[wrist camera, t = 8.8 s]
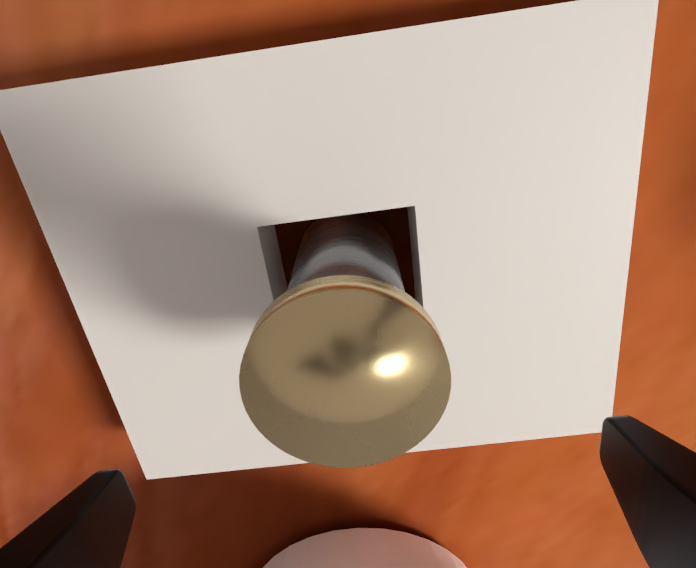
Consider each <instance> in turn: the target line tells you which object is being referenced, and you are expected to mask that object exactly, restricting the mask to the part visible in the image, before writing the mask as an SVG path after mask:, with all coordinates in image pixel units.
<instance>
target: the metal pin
mask: <svg viewBox="0 0 696 568" xmlns="http://www.w3.org/2000/svg"><path fill="white" fill-rule="evenodd" d="M239 389H240V394H241V399H242V402H243V405H244V408H245V410H246V412H247V414H248V416H249V418H250V420H251V421H252V423H253V424H254V425H255V427H256V428H257V429H258V431H259V432H260V433H261V434H262V435H263V436H264V437H265V438H266V439H267V440H268V441H270V442H271V443H272V444H273V445H275V446H276V447H278V448H279V449H281V450H282V451H284V452H285V453H287V454H289V455H291V456H294V457H296V458H298V459H301V460H303V461H306V462H309V463H313V464H317V465H321V466H328V467H339V468H352V467H363V466H369V465H374V464H378V463H382V462H385V461H387V460H390V459H393V458H395V457H397V456H399V455H401V454H403V453H405V452H407V451H409V450H410V449H412V448H413V447H415V446H416V445H417V444H419V443H420V442H421V441H422V440H423V439H425V438H426V437H427V435H428V434H429V433H430V432H431V431H432V430H433V429H434V428H435V426H436V425H437V423H438V422H439V421H440V419H441V417H442V415H443V413H444V411H445V409H446V406H447V403H448V400H449V396H450V390H451V371H450V364H449V361H448V358H447V354H446V351H445V348H444V346H443V343H442V340H441V337H440V334H439V331H438V329H437V327H436V325H435V323H434V321H433V320H432V318H431V317H430V315H429V314H428V312H427V311H426V310H425V309H424V308H423V307H422V306H421V305H420V304H419V303H418V302H417V301H416V300H415V299H414V298H412V297H411V296H410V295H409V294H407V293H405V290H404V286H403V282H402V278H401V274H400V270H399V266H398V262H397V258H396V254H395V251H394V247H393V243H392V240H391V238H390V236H389V234H388V232H387V231H386V229H385V228H384V227H383V226H382V225H381V224H380V223H379V222H378V221H377V220H376V219H374V218H373V217H371V216H369V215H367V214H365V213H357V214H350V215H342V216H335V217H327V218H320V219H317V220H316V221H314V222H313V223H312V224H311V225H310V226H309V228H308V229H307V230H306V232H305V233H304V235H303V237H302V239H301V242H300V246H299V249H298V253H297V256H296V260H295V264H294V267H293V271H292V275H291V278H290V282H289V286H288V289H287V292H285V293H283V294H282V295H280V296H279V297H278V298H277V299H276V300H274V301H273V302H272V303H271V304H270V305H269V306H268V307H267V308H266V310H265V311H264V312H263V313H262V315H261V316H260V318H259V319H258V321H257V322H256V324H255V326H254V328H253V331H252V333H251V335H250V338H249V341H248V344H247V346H246V349H245V352H244V355H243V358H242V362H241V365H240V373H239Z"/></svg>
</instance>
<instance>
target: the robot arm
mask: <svg viewBox="0 0 696 568" xmlns="http://www.w3.org/2000/svg"><path fill="white" fill-rule="evenodd" d="M600 459H601V463H602V466H603V468H604V470H605V473H606V475H607V477H608V479H609V482H610V484H611V486H612V488H613V491H614V493H615V495H616V498H617V500H618V502H619V504H620V507H621V509H622V511H623V513H624V516H625V518H626V520H627V522H628V525H629V527H630V529H631V531H632V534H633V536H634V538H635V540H636V542H637V544H638V547H639V549H640V551H641V552H642V554H643V556H644V558H645V560H646V562H647V564H648V565H649V567H650V568H696V453H695V452H693V451H692V450H690V449H688V448H686V447H685V446H683V445H681V444H679V443H678V442H676V441H674V440H672V439H671V438H669V437H667V436H665V435H663V434H662V433H660V432H658V431H656V430H655V429H653V428H651V427H649V426H648V425H646V424H644V423H642V422H640V421H639V420H637V419H635V418H633V417H631V416H628V415H623V416H613V417H607V418H605V419H604V421H603V424H602V433H601V443H600ZM135 509H136V503H135V498H134V496H133V494H132V491H131V489H130V487H129V485H128V482H127V480H126V478H125V476H124V474H123V472H122V471H121V470H119V469H112V470H102V471H98V472H96V473H95V474H93V475H92V476H91V477H89V478H88V479H87V480H86V481H84V482H83V483H82V484H81V485H79V486H78V487H77V488H76V489H74V490H73V491H72V492H71V493H69V494H68V495H67V496H66V497H64V498H63V499H62V500H61V501H59V502H58V503H57V504H56V505H54V506H53V507H52V508H51V509H49V510H48V511H47V512H46V513H44V514H43V515H42V516H41V517H39V518H38V519H37V520H36V521H34V522H33V523H32V524H31V525H29V526H28V527H27V528H25V529H24V530H23V531H22V532H20V533H19V534H18V535H17V536H15V537H14V538H13V539H12V540H10V541H9V542H8V543H7V544H5V545H4V546H3V547H2V548H0V568H121V564H122V560H123V556H124V553H125V549H126V545H127V541H128V537H129V534H130V530H131V526H132V522H133V519H134V515H135Z"/></svg>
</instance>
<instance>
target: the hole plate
mask: <svg viewBox="0 0 696 568" xmlns="http://www.w3.org/2000/svg"><path fill="white" fill-rule="evenodd" d="M657 9H658V0H577V1H571V2H564V3H558V4H551V5H545V6H538V7H532V8H526V9H519V10H513V11H506V12H500V13H493V14H487V15H481V16H474V17H468V18H461V19H455V20H448V21H442V22H435V23H429V24H423V25H416V26H410V27H403V28H397V29H390V30H384V31H378V32H371V33H365V34H358V35H352V36H345V37H339V38H333V39H326V40H320V41H313V42H307V43H300V44H294V45H288V46H281V47H275V48H268V49H262V50H255V51H249V52H243V53H236V54H230V55H223V56H217V57H210V58H204V59H197V60H191V61H185V62H178V63H172V64H165V65H159V66H152V67H146V68H140V69H133V70H127V71H120V72H114V73H107V74H101V75H95V76H88V77H82V78H75V79H69V80H62V81H56V82H50V83H43V84H37V85H30V86H24V87H17V88H11V89H5V90H0V131H1V133H2V136H3V138H4V140H5V143H6V145H7V147H8V150H9V152H10V155H11V157H12V159H13V162H14V164H15V167H16V169H17V171H18V174H19V176H20V179H21V181H22V183H23V186H24V188H25V190H26V193H27V195H28V198H29V200H30V202H31V205H32V207H33V210H34V212H35V214H36V217H37V219H38V221H39V224H40V226H41V229H42V231H43V233H44V236H45V238H46V241H47V243H48V245H49V248H50V250H51V252H52V255H53V257H54V260H55V262H56V264H57V267H58V269H59V272H60V274H61V276H62V279H63V281H64V283H65V286H66V288H67V291H68V293H69V295H70V298H71V300H72V303H73V305H74V307H75V310H76V312H77V315H78V317H79V319H80V322H81V324H82V326H83V329H84V331H85V334H86V336H87V338H88V341H89V343H90V346H91V348H92V350H93V353H94V355H95V357H96V360H97V362H98V365H99V367H100V369H101V372H102V374H103V377H104V379H105V381H106V384H107V386H108V388H109V391H110V393H111V396H112V398H113V400H114V403H115V405H116V408H117V410H118V412H119V415H120V417H121V419H122V422H123V424H124V427H125V429H126V431H127V434H128V436H129V439H130V441H131V443H132V446H133V448H134V451H135V453H136V455H137V458H138V460H139V462H140V465H141V467H142V470H143V472H144V474H145V477H146V479H147V480H148V479H158V478H167V477H177V476H187V475H196V474H206V473H215V472H225V471H234V470H244V469H254V468H263V467H273V466H282V465H292V464H301V463H309V462H306V461H303V460H301V459H298V458H296V457H294V456H291V455H289V454H287V453H285V452H284V451H282V450H281V449H279V448H278V447H276V446H275V445H273V444H272V443H271V442H270V441H268V440H267V439H266V438H265V437H264V436H263V435H262V434H261V433H260V432H259V431H258V429H257V428H256V427H255V425H254V424H253V423H252V421H251V420H250V418H249V416H248V414H247V412H246V410H245V408H244V405H243V402H242V399H241V394H240V389H239V373H240V365H241V362H242V358H243V355H244V352H245V349H246V346H247V344H248V341H249V338H250V335H251V333H252V331H253V328H254V326H255V324H256V322H257V321H258V319H259V318H260V316H261V315H262V313H263V312H264V311H265V310H266V308H267V307H268V306H269V305H270V304H271V303H272V302H273V301H274V300H276V299H277V298H278V297H279V296H280V295H282V294H283V293H285V292H287V289H288V288H287V283H286V278H285V273H284V268H283V264H282V259H281V254H280V249H279V245H278V240H277V235H276V230H275V224H282V223H290V222H297V221H305V220H312V219H320V218H327V217H335V216H342V215H350V214H357V213H365V212H372V211H379V210H387V209H394V208H402V207H407V211H408V222H409V233H410V244H411V256H412V267H413V278H414V289H415V300H416V301H417V302H418V303H419V304H420V305H421V306H422V307H423V308H424V309H425V310H426V311H427V312H428V314H429V315H430V317H431V318H432V320H433V321H434V323H435V325H436V327H437V329H438V331H439V334H440V337H441V340H442V343H443V346H444V348H445V351H446V354H447V358H448V361H449V364H450V371H451V390H450V396H449V400H448V403H447V406H446V409H445V411H444V413H443V415H442V417H441V419H440V421H439V422H438V423H437V425H436V426H435V428H434V429H433V430H432V431H431V432H430V433H429V434H428V435H427V437H426V438H425V439H423V440H422V441H421V442H420V443H419V444H417V445H416V446H415V447H413V448H412V449H410V450H409V451H407V452H416V451H426V450H435V449H445V448H455V447H464V446H474V445H483V444H493V443H502V442H512V441H522V440H531V439H541V438H550V437H560V436H569V435H579V434H589V433H598V432H602V424H603V421H604V419H605V418H607V417H612V411H613V402H614V393H615V384H616V375H617V367H618V358H619V349H620V340H621V331H622V322H623V313H624V304H625V295H626V286H627V277H628V268H629V259H630V250H631V241H632V233H633V224H634V215H635V206H636V197H637V188H638V179H639V170H640V161H641V152H642V143H643V134H644V125H645V116H646V108H647V99H648V90H649V81H650V72H651V63H652V54H653V45H654V36H655V27H656V18H657ZM407 452H405V453H407Z"/></svg>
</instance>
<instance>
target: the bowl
mask: <svg viewBox="0 0 696 568" xmlns="http://www.w3.org/2000/svg"><path fill="white" fill-rule="evenodd" d="M263 568H467V567H466V566H465V565H464V563H463V562H462V561H461V560H460V559H458V558H457V557H456V556H455V555H453V554H452V553H451V552H450V551H448V550H447V549H445V548H444V547H442V546H440V545H438V544H436V543H434V542H432V541H430V540H428V539H425V538H422V537H419V536H416V535H413V534H410V533H407V532H401V531H395V530H389V529H383V528H352V529H343V530H335V531H330V532H326V533H322V534H319V535H315V536H311V537H308V538H306V539H304V540H302V541H299V542H297V543H295V544H293V545H290V546H289V547H287V548H286V549H284V550H283V551H281V552H280V553H278V554H277V555H275V556H274V557H273V558H272V559H271V560H270V561H269V562H268V563H267V564H266V565H265V566H264V567H263Z"/></svg>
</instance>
